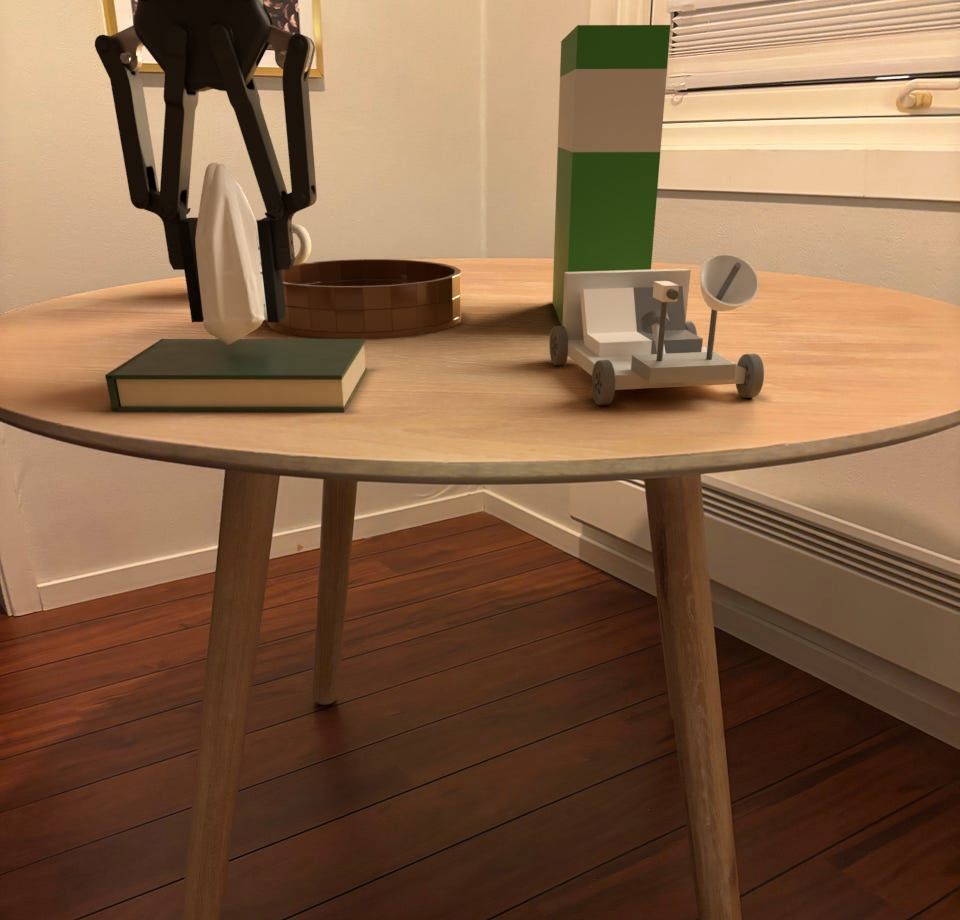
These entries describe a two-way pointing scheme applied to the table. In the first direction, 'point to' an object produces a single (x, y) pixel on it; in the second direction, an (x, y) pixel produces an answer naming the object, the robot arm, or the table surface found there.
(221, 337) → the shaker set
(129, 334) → the table surface
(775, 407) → the table surface
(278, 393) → the green book
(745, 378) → the toy car
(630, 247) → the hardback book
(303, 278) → the bowl
